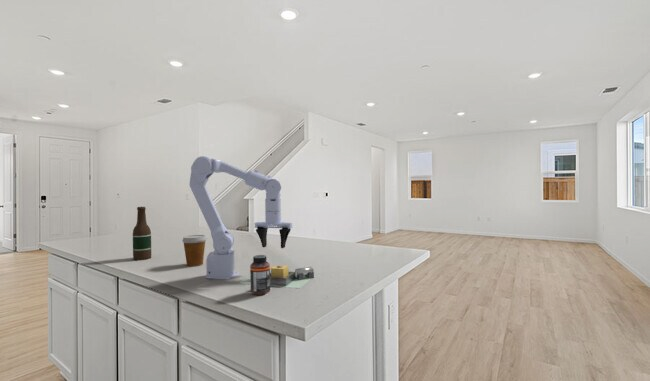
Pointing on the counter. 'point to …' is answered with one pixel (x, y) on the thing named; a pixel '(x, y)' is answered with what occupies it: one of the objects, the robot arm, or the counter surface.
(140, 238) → the beer bottle
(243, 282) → the mat
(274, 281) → the frame
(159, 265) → the counter surface
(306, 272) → the shaft
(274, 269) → the yellow block
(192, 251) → the disposable coffee cup
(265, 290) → the supplement bottle
